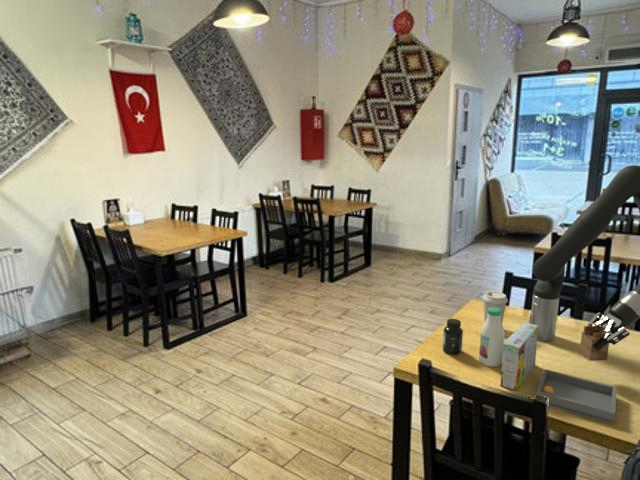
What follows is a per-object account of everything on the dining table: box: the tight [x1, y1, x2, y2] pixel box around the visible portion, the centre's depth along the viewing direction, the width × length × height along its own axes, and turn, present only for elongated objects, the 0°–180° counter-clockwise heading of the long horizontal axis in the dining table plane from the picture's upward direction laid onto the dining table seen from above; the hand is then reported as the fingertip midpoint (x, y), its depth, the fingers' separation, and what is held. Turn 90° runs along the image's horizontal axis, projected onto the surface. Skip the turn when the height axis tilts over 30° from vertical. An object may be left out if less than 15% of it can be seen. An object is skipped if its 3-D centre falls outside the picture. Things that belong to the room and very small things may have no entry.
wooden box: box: [579, 325, 610, 362], centre depth 149 cm, size 6×6×10 cm
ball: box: [543, 386, 554, 395], centre depth 139 cm, size 3×3×3 cm
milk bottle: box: [478, 307, 505, 368], centre depth 160 cm, size 8×8×20 cm
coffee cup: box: [482, 291, 509, 324], centre depth 187 cm, size 10×10×15 cm
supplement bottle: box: [442, 318, 464, 356], centre depth 169 cm, size 7×7×12 cm
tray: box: [535, 368, 618, 425], centre depth 139 cm, size 20×16×4 cm
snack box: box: [500, 321, 538, 391], centre depth 152 cm, size 21×6×15 cm, turn 141°
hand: (589, 343), depth 149 cm, fingers closed on wooden box, 5 cm apart
